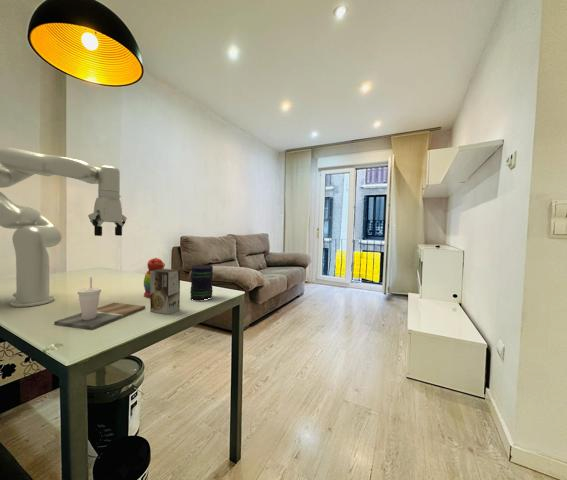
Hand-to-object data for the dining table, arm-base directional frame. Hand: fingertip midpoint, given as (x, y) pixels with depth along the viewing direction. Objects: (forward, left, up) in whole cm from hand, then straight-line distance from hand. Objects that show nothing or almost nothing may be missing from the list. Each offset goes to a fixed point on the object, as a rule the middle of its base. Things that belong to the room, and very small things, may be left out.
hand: (108, 235), depth 107 cm
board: (+15, -16, -28) cm, 36 cm away
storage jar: (+36, +15, -28) cm, 48 cm away
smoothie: (+15, -21, -28) cm, 38 cm away
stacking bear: (+13, +13, -28) cm, 34 cm away
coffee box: (+32, -5, -28) cm, 43 cm away
